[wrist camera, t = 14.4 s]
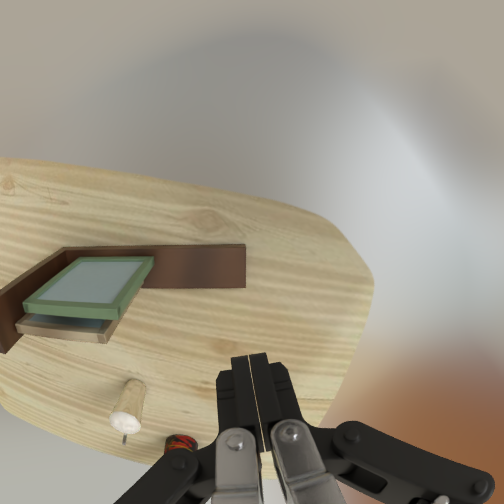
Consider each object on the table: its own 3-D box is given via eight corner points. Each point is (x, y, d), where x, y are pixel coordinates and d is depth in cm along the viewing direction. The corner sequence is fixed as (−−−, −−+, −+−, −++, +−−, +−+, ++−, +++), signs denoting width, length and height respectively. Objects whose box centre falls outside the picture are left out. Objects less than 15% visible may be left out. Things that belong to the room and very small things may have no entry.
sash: (153, 256, 33) (116, 309, 21) (154, 264, 34) (118, 320, 21) (79, 256, 33) (21, 302, 20) (80, 264, 33) (24, 312, 21)
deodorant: (200, 438, 46) (197, 507, 31) (194, 454, 47) (190, 518, 33) (168, 431, 45) (157, 500, 30) (164, 447, 46) (154, 511, 32)
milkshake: (124, 396, 42) (108, 440, 32) (122, 373, 40) (103, 418, 31) (150, 402, 42) (138, 448, 33) (150, 379, 41) (136, 427, 31)
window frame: (245, 244, 36) (258, 319, 19) (245, 283, 37) (257, 377, 20) (63, 247, 34) (-20, 304, 17) (69, 282, 35) (-3, 352, 19)
